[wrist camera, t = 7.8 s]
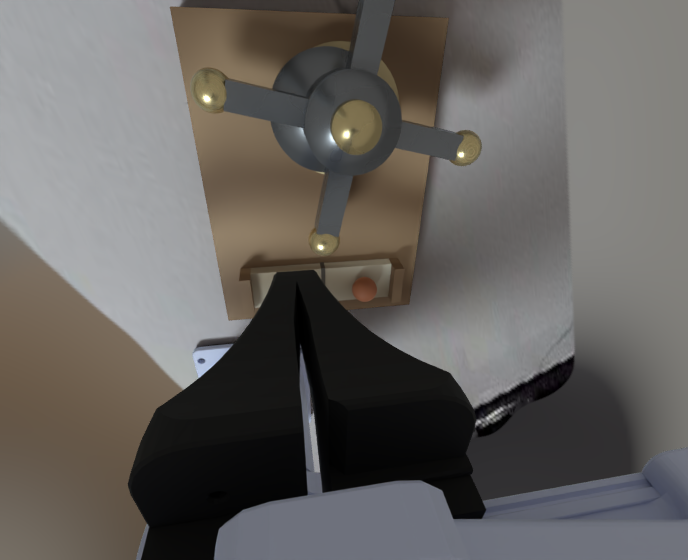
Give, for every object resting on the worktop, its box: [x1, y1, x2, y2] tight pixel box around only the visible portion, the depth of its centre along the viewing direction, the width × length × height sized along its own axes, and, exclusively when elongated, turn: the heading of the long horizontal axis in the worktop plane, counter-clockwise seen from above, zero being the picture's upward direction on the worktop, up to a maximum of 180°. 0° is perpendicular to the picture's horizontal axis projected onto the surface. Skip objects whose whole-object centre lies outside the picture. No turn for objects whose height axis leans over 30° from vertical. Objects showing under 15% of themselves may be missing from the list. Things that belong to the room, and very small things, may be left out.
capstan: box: [190, 0, 482, 256], centre depth 16 cm, size 13×13×4 cm
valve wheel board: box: [170, 7, 449, 320], centre depth 19 cm, size 16×12×4 cm
